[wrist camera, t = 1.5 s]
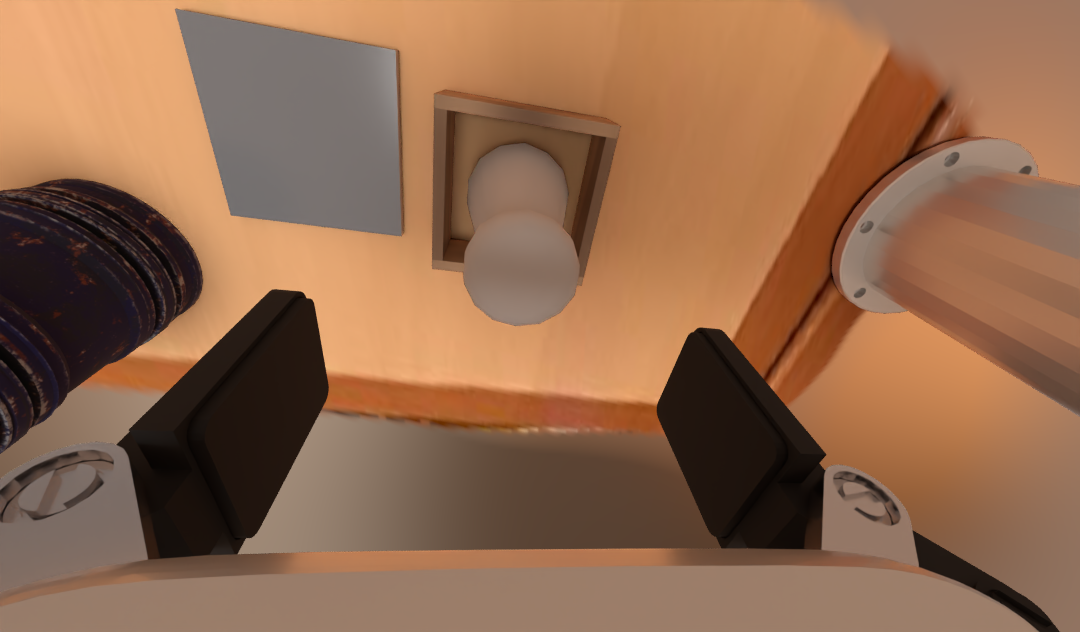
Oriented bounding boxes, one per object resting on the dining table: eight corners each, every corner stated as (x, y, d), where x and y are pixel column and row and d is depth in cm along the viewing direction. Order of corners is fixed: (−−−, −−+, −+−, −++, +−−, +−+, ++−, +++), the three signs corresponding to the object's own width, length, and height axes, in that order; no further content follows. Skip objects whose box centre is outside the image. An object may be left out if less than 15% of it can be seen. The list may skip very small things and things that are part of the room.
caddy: (606, 118, 22) (620, 126, 20) (573, 262, 27) (581, 285, 24) (444, 89, 21) (434, 93, 18) (440, 246, 26) (432, 268, 23)
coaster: (398, 50, 20) (395, 49, 20) (403, 232, 25) (401, 236, 25) (183, 10, 19) (175, 8, 18) (236, 212, 24) (231, 215, 23)
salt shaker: (502, 114, 22) (494, 162, 11) (581, 172, 24) (641, 260, 13) (454, 201, 24) (409, 309, 14) (530, 246, 26) (543, 373, 16)
